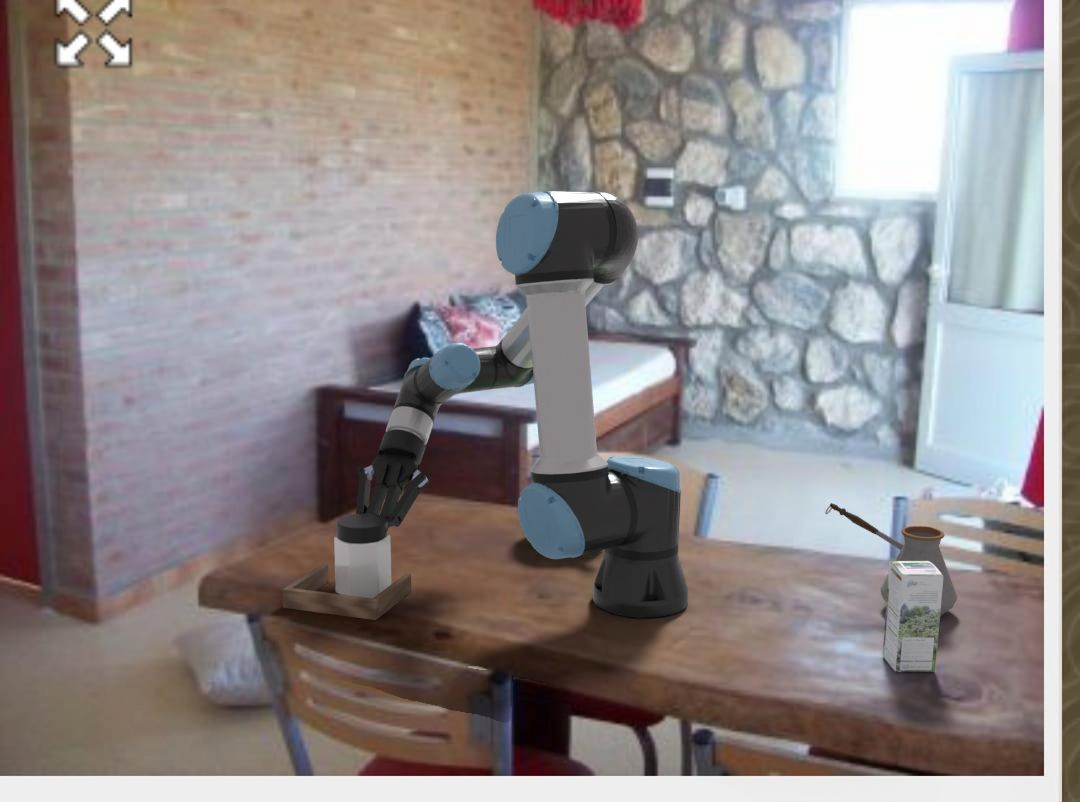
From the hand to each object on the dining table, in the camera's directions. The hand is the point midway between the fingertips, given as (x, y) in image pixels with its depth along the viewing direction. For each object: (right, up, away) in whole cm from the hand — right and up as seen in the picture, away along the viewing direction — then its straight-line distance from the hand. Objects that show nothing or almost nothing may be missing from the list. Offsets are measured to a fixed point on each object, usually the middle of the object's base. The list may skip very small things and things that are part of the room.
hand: (363, 559), depth 194 cm
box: (-2, -6, -4) cm, 7 cm away
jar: (0, -5, -1) cm, 5 cm away
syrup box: (+80, -11, -29) cm, 86 cm away
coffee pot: (+84, -6, -5) cm, 84 cm away
